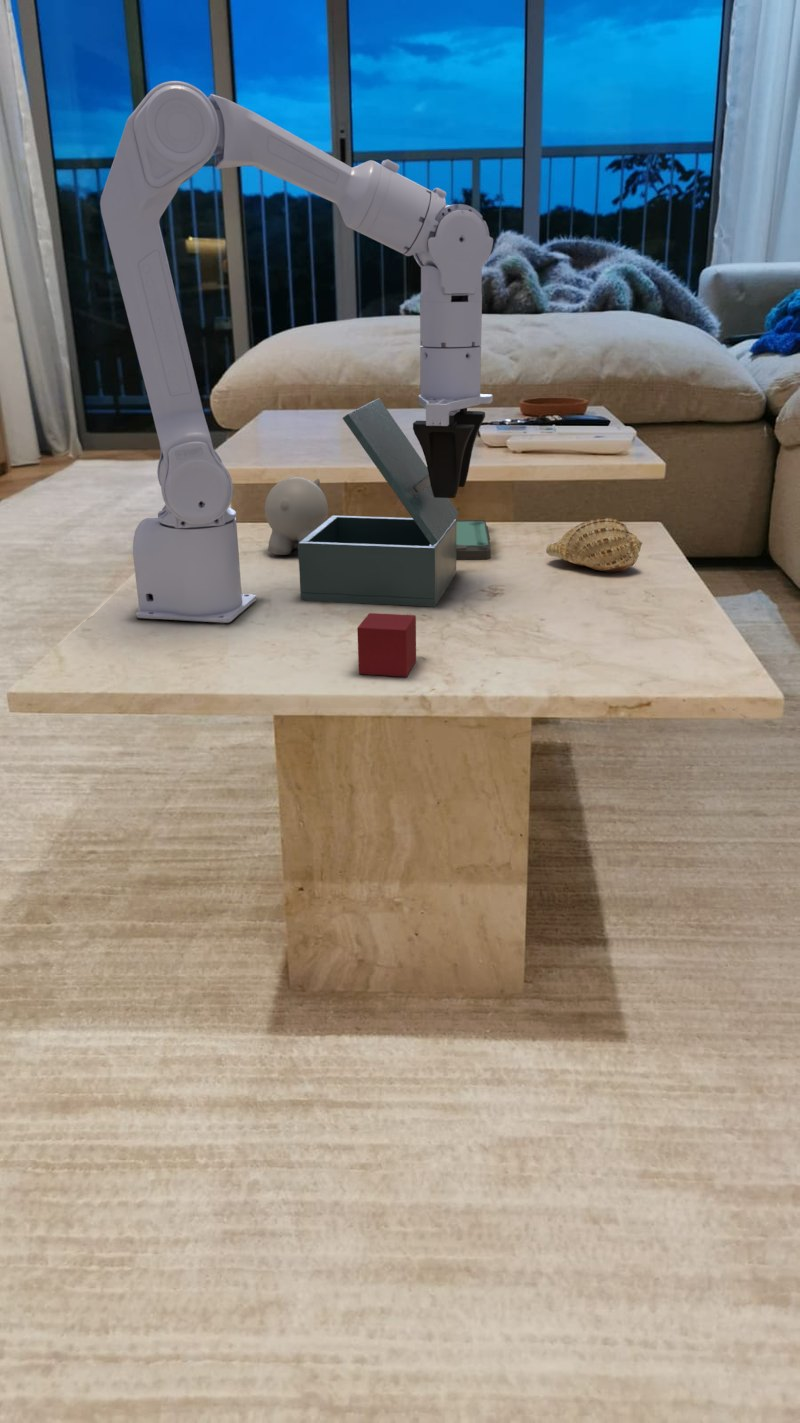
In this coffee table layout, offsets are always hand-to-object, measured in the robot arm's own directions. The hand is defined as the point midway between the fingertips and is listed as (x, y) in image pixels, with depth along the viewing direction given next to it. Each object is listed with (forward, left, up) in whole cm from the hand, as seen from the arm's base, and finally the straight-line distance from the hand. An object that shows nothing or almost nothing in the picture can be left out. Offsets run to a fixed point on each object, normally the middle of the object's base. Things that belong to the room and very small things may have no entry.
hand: (449, 491), depth 106 cm
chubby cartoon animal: (-20, +15, -10) cm, 27 cm away
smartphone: (-2, +19, -10) cm, 22 cm away
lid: (-5, 0, +2) cm, 5 cm away
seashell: (+14, +11, -10) cm, 20 cm away
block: (-1, -23, -10) cm, 25 cm away
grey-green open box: (-7, 0, -10) cm, 12 cm away
